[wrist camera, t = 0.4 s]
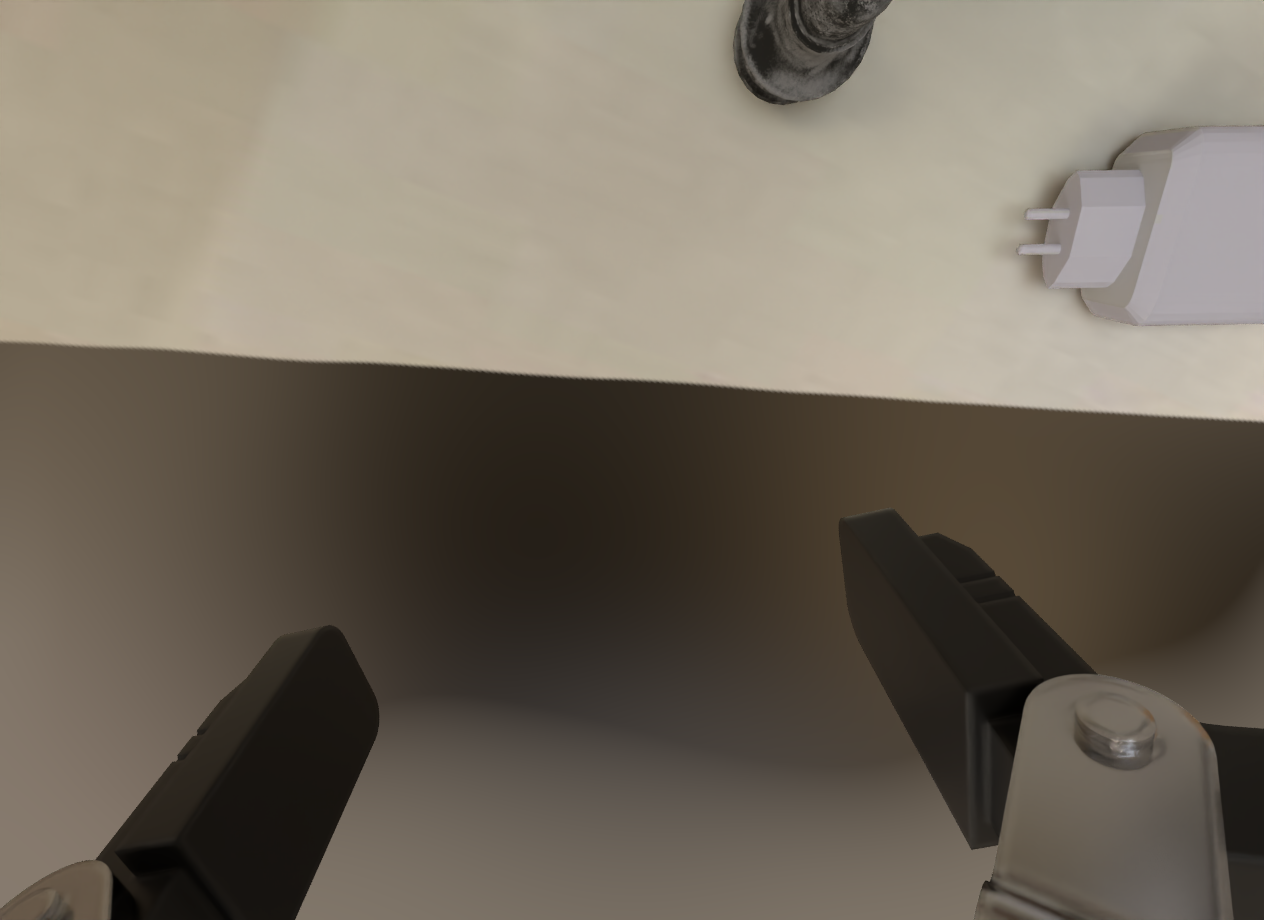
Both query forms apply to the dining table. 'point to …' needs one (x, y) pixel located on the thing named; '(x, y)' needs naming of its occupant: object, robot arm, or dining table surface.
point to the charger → (1164, 230)
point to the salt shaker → (802, 45)
